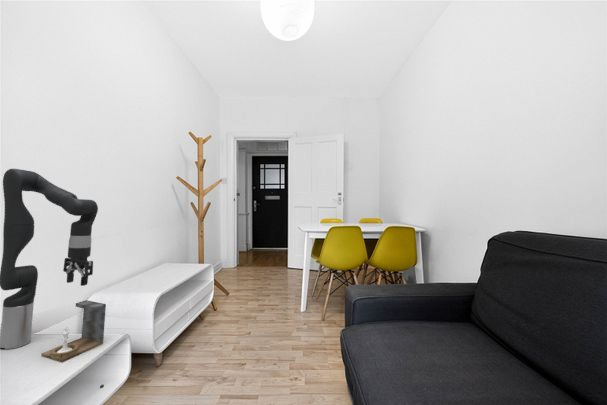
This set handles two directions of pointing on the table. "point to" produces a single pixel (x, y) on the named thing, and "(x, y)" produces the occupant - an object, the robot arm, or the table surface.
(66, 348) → the chess piece
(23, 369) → the table surface
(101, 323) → the base
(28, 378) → the table surface
